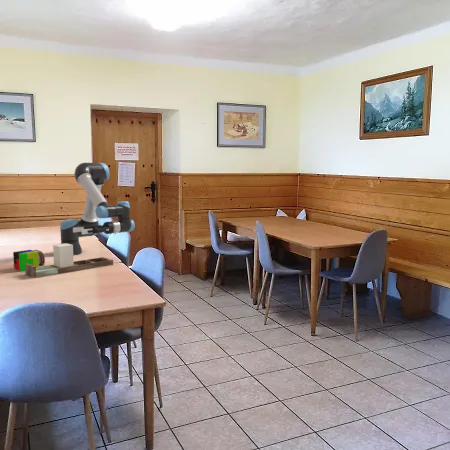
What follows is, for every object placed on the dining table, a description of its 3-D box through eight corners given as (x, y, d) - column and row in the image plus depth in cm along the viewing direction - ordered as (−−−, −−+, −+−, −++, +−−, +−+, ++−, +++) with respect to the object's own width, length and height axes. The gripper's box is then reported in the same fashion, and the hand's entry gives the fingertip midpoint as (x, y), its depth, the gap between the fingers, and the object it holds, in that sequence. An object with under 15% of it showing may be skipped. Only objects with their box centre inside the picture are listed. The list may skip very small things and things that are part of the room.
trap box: (25, 274, 254) (25, 263, 253) (103, 261, 288) (102, 252, 287) (34, 278, 246) (34, 267, 245) (113, 264, 279) (112, 255, 278)
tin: (45, 265, 276) (44, 251, 275) (40, 266, 274) (39, 252, 273) (35, 261, 287) (34, 248, 286) (30, 262, 285) (29, 249, 284)
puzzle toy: (30, 266, 275) (29, 249, 274) (39, 268, 269) (38, 251, 267) (14, 268, 267) (13, 252, 266) (22, 271, 261) (21, 254, 260)
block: (54, 265, 263) (53, 244, 261) (67, 263, 269) (66, 243, 267) (60, 267, 257) (59, 246, 256) (73, 265, 263) (72, 244, 261)
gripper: (121, 235, 275) (87, 239, 259) (101, 231, 291) (68, 235, 275) (120, 223, 274) (86, 226, 259) (101, 220, 290) (68, 223, 274)
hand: (77, 231), depth 267 cm, fingers open, 10 cm apart
